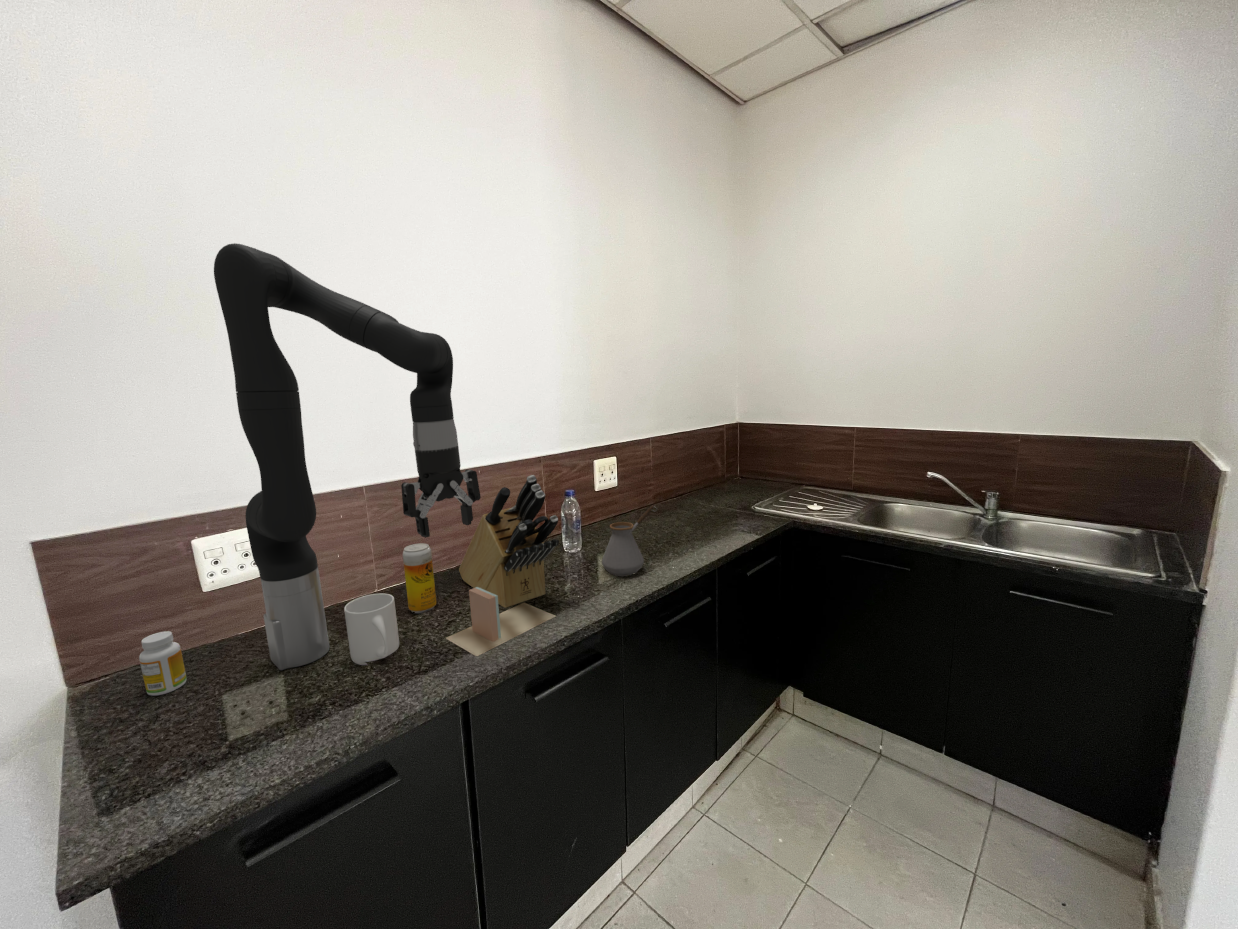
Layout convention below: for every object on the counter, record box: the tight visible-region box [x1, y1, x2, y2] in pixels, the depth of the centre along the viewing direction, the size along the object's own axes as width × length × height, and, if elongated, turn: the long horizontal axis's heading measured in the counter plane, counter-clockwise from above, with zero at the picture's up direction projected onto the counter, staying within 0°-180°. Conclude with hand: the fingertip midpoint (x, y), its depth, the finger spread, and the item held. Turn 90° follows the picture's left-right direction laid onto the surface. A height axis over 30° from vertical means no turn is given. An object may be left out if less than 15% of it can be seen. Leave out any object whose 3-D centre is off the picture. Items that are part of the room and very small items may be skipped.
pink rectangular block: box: [468, 587, 501, 642], centre depth 100 cm, size 2×7×9 cm, turn 49°
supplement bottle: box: [138, 630, 187, 696], centre depth 88 cm, size 5×5×10 cm
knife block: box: [458, 474, 560, 609], centre depth 120 cm, size 11×35×31 cm, turn 40°
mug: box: [343, 592, 400, 666], centre depth 95 cm, size 9×12×11 cm
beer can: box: [402, 543, 437, 614], centre depth 115 cm, size 6×6×15 cm
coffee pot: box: [601, 504, 658, 577], centre depth 137 cm, size 21×12×15 cm, turn 142°
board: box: [445, 602, 557, 657], centre depth 104 cm, size 20×11×1 cm, turn 139°
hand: (446, 530), depth 94 cm, fingers open, 8 cm apart
